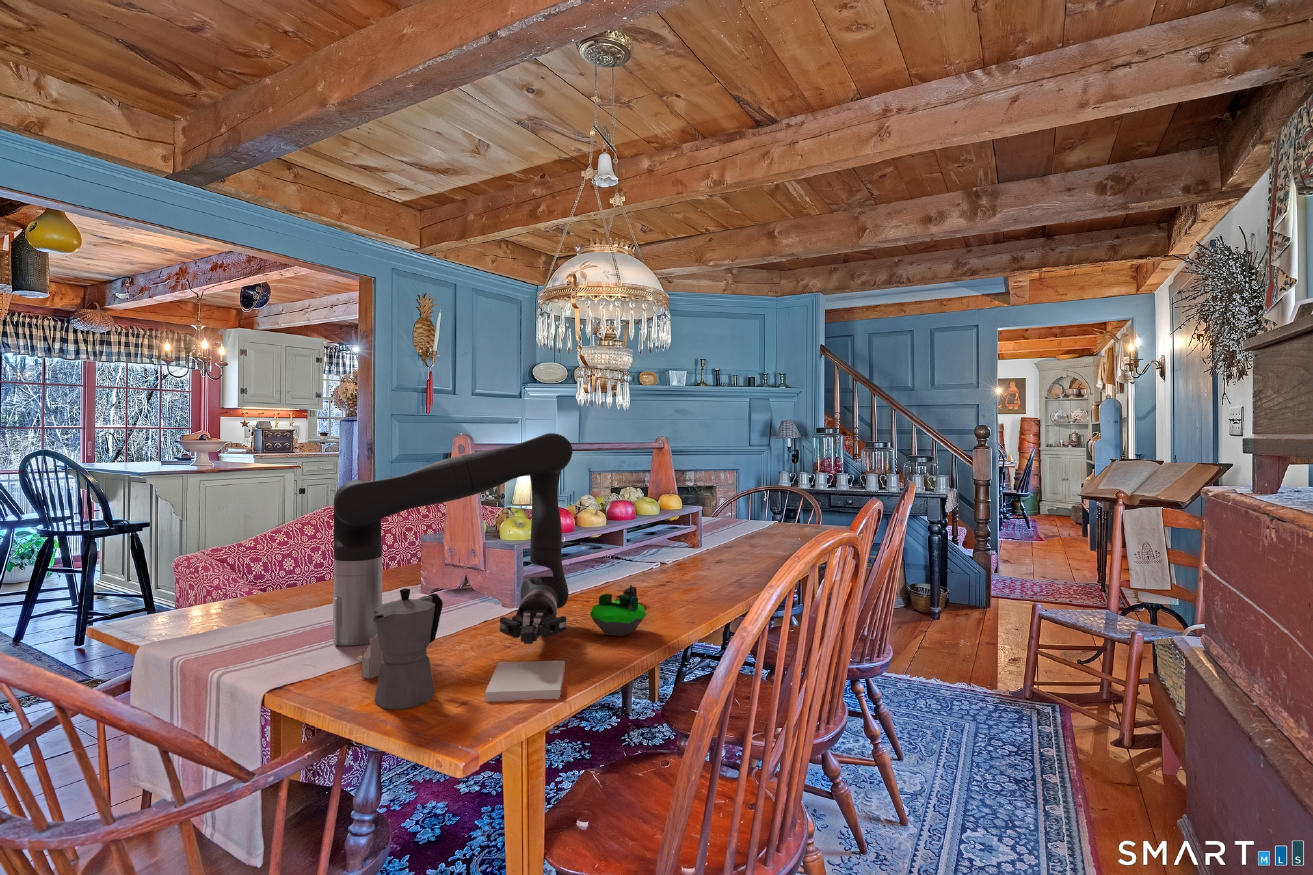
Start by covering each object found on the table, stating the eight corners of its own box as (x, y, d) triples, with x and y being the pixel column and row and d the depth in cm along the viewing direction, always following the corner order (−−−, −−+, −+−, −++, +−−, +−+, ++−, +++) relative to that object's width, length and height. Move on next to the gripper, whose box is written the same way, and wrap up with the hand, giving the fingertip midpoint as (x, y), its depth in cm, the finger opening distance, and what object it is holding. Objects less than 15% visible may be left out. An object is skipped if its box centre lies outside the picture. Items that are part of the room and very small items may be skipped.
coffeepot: (398, 719, 102) (398, 600, 102) (351, 709, 105) (350, 594, 105) (463, 683, 116) (463, 579, 116) (419, 676, 119) (419, 575, 119)
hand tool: (615, 624, 153) (615, 603, 153) (599, 622, 155) (599, 602, 155) (645, 604, 171) (646, 586, 171) (631, 602, 172) (631, 584, 172)
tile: (498, 673, 122) (485, 704, 108) (498, 662, 122) (485, 692, 108) (564, 671, 123) (560, 701, 109) (564, 660, 123) (560, 689, 109)
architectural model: (355, 678, 120) (355, 636, 120) (385, 666, 126) (385, 626, 126) (369, 681, 118) (369, 639, 118) (399, 668, 125) (399, 628, 125)
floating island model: (654, 631, 147) (655, 581, 147) (626, 645, 137) (628, 591, 137) (608, 623, 153) (609, 575, 153) (578, 636, 143) (579, 584, 143)
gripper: (503, 593, 134) (489, 617, 117) (570, 592, 135) (566, 616, 118) (503, 631, 134) (489, 660, 117) (570, 629, 135) (566, 658, 118)
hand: (528, 638), depth 117 cm, fingers closed
